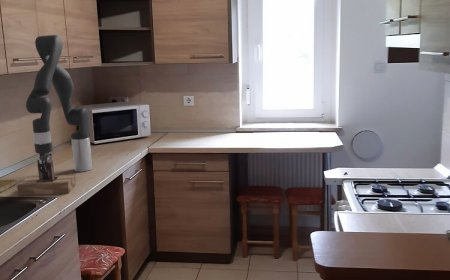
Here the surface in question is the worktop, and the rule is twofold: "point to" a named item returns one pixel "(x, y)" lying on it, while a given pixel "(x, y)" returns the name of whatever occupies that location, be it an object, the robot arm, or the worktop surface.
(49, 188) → the slot beam
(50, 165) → the box
